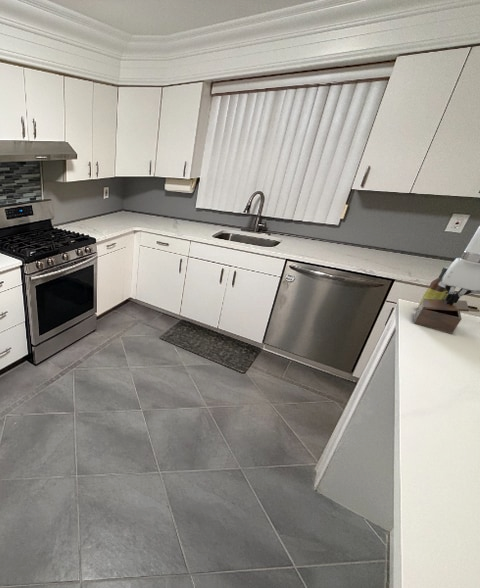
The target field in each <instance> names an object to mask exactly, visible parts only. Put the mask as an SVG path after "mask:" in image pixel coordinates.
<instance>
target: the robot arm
mask: <svg viewBox="0 0 480 588" xmlns="http://www.w3.org/2000/svg"><path fill="white" fill-rule="evenodd" d="M448 267H449V268H448V269H447V271H446V272H445V274H444V275H443V277H442V280H441V281H440V282H439V283H438V285H439V286H441V287H444V288H446V289H447V291H448V292H449V293H448V295H447V296H446V298H445V301H446V304H450V305H453V303H457V301H458V300H460V298H461V297H463V296H466V295H470V294H471V295H480V225H479V226H478V227H477V229H476V231H475V232H474V234H473V235H472V238H471V239H470V240H469V243H468V244H467V246H466V248H465V249H464V251H463V252H462V254H461V256H460V257H456V258H455V259H454V260H453V261H452V262H451V264H450V265H449V266H448ZM456 288H459V290H458V291H456ZM455 291H456V292H455Z"/></svg>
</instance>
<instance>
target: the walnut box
mask: <svg viewBox="0 0 480 588" xmlns="http://www.w3.org/2000/svg"><path fill="white" fill-rule="evenodd" d="M419 304H420V303H419ZM418 307H419V308H418ZM418 307H417V308H418V310H416V311H415V313H414V320H413V321H414V322H413V324H415V325H419V326H422V327H425V328H428V329H432V330H435V331H440V332H442V333H446V334H450V335H452V334H453V333H454V332H455V330H456V329H457V327H458V325H460V322H461V321H462V314H461V311H451V310H436V309H423V301H422V303H421V304H420V306H418Z"/></svg>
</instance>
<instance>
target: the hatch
mask: <svg viewBox="0 0 480 588" xmlns="http://www.w3.org/2000/svg"><path fill="white" fill-rule="evenodd" d="M423 309H436V310H451V311H460V312H466V313H468V312H469V311H470V308H469V306H468V301H467V300H460V299H459V300H458V301H457V303H453V305H450V304H446V301H445V300H440V299H423Z"/></svg>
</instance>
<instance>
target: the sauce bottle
mask: <svg viewBox="0 0 480 588" xmlns="http://www.w3.org/2000/svg"><path fill="white" fill-rule="evenodd" d="M449 267H450V266H444V267H442V269H441V272H440V274H439V275H438V277H437V278H436V279H433V280H432V281H431V282H430V284H429V285H428V287H427V289H426V291H425V293H424V294H423V296H422V298H421V300H420V301H419V303H418V306H417V307H416V309H417V310H418V308H419V306H420V304H421V303H422V301H423V299H440V300H445V298H446V296H447V295H448V293H449V292H448V291H447V289H446V288H444V287H441V286H439V285H438V283H439V282H440V281H441V280H442V277H443V275H444V274H445V272H446V271H447V269H448V268H449ZM417 310H416V311H417Z"/></svg>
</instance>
